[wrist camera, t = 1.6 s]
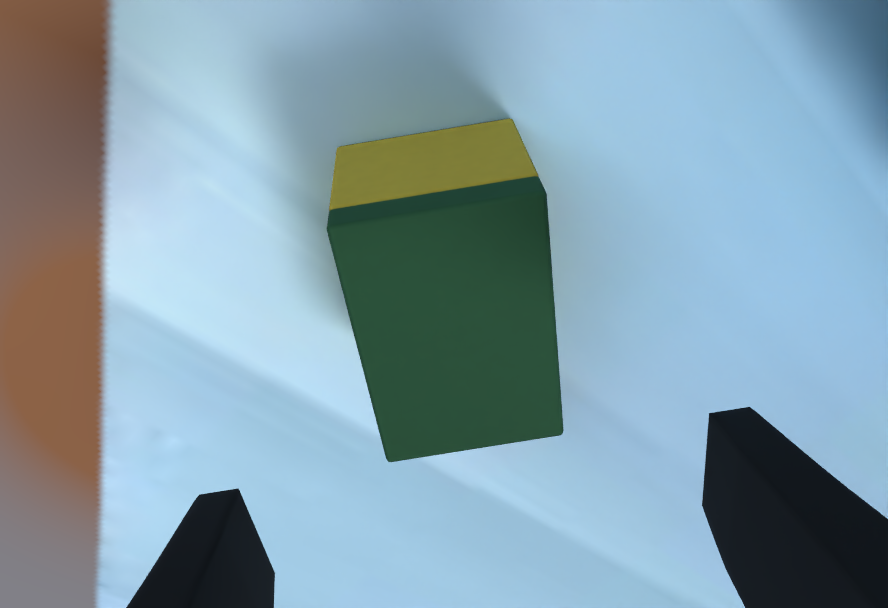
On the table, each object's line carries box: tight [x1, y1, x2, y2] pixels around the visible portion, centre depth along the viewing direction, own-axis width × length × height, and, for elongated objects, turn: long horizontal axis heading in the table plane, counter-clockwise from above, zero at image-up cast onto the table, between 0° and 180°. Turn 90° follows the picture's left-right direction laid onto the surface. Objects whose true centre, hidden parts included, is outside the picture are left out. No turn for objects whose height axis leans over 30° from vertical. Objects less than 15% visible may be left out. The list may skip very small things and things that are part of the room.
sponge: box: [327, 119, 563, 462], centre depth 16 cm, size 4×6×4 cm, turn 8°
